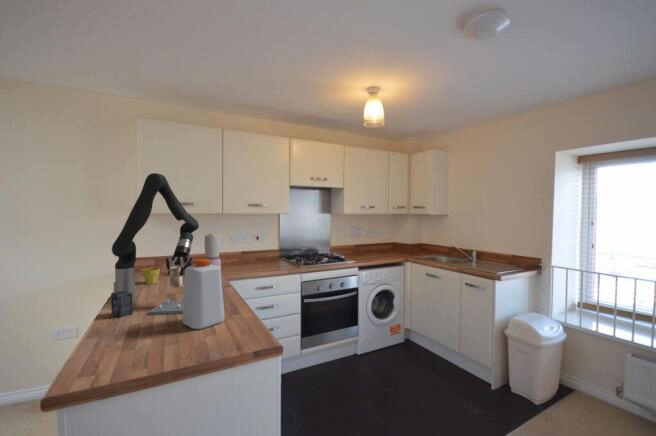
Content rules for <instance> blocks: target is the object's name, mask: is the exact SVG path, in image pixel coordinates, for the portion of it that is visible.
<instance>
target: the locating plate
mask: <svg viewBox="0 0 656 436" xmlns="http://www.w3.org/2000/svg"><path fill="white" fill-rule="evenodd" d="M183 301H184V300H174V301H173V300H172V301H170V299H165V301H162V302H160V304H158V305H157V306H155V307H153V308H152V309H151V310H149V311H148V316H152V315H153V316H157V315H159V316H160V315H177V314H178V315H179V314H182V315H183Z"/></svg>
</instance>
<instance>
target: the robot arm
mask: <svg viewBox="0 0 656 436" xmlns="http://www.w3.org/2000/svg"><path fill="white" fill-rule="evenodd" d="M140 191H141V192H140V194H139V196H138V197H137V200H135V203H134V205H133V207H132V209H131V211H130V213H129V214H128V218H126V221H125V223H124V225H123V227H122V230H121V231H120V233H119V234H118V236H117V237H116V239H115V241H114V242H113V244H112V246H111V253H112V255H114V256H115V257H117V258H118V259H117V261H116V262H115V264H114V277H115V279H114V280H115V281H114V282H113V293H115V292H120V291H126V292H130V293H132V299H133V298H135V296H136V282H135V281H136V276H135V272H136V271H135V263H136V262H137V246H136V243H135V242H134V239H135V236H137V234H138V232H140V231H141V230H142V228H143V227H144V226H145V225H146V223H147V222H148V220H149V218H150V215H151V214H152V210H153V204H154V200H155V198H156V195H157V193H159V194H160V196H162V199H163V200H164V201H165V203H166V205H167V208H168V209H169V211H170V212H171V214H172V215H173V217H174V218H175V219H176V220H177V221H184V223H183V224H182V225H181V226H180V227H179V228H180V229H179V238H178V242H177V243H176V246H175V249H174V251H173V256H171V258H168V257H167V258H166V259H165V267H166V269H167V270H168V273H167V274H168V276H169V277H170V268H171V267H177V266H181V267H182V268H181V270H180V273H179V275H180V276H182V277H183V275H184V274H185V270H186V268H187V267H190V266H192V265H193V262H194V259H193V257H190V253H191V251H192V250H191V249H192V244H193V240H194V235H193V233H194V232H195V231H196V230H198V229H199V226H200V225H199V222H198V220H197V219H196V218H195V217H193V216H192V215H191V214H190V213H189V212H188V211H187V210H186V209H185V207H184V206H183V204H182V203H181V201H180V200H179V199H178V198H177V196H176V194H175V193H174V191H173V190H172V188H171V186H170V184H169V182H168V179H167V178H166V176H165V175H164V174H161V173H155V172H153V173H150V174H148V175H147V176H146V177H145V181H144V183H143V186H142V189H141V190H140Z"/></svg>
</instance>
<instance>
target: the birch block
mask: <svg viewBox="0 0 656 436" xmlns="http://www.w3.org/2000/svg"><path fill="white" fill-rule="evenodd" d="M181 268H182V267H181V265H177V266H176V267H171V268H170V276H169V288H181V287H182V286H183V275H182V276H180V275H179V273H180V270H181Z"/></svg>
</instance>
